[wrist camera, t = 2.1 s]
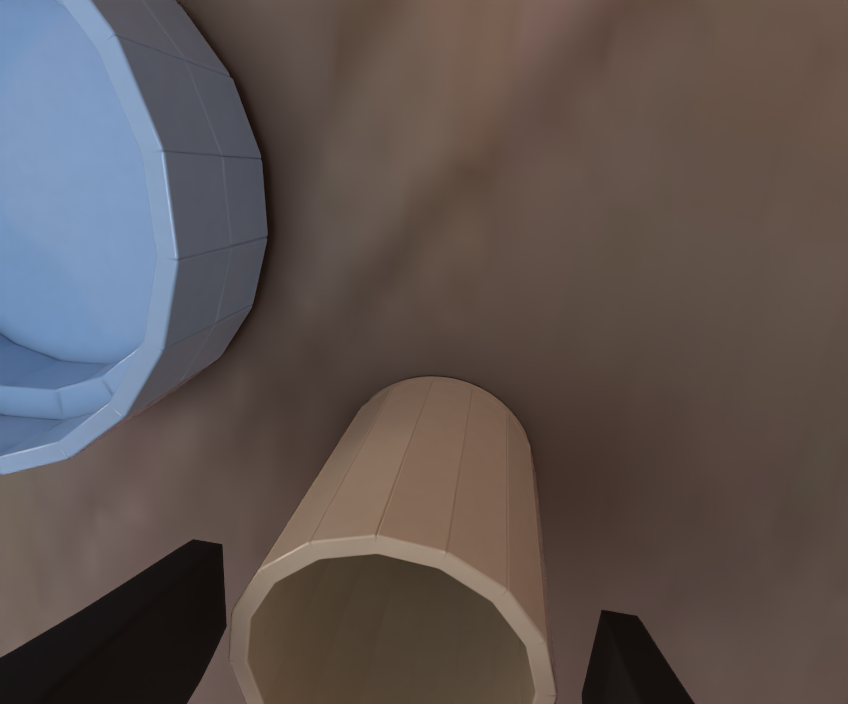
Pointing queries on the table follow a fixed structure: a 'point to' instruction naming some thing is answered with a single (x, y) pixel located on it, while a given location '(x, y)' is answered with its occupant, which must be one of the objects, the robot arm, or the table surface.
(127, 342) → the bowl
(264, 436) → the table surface
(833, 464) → the table surface
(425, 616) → the cup
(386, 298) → the table surface
